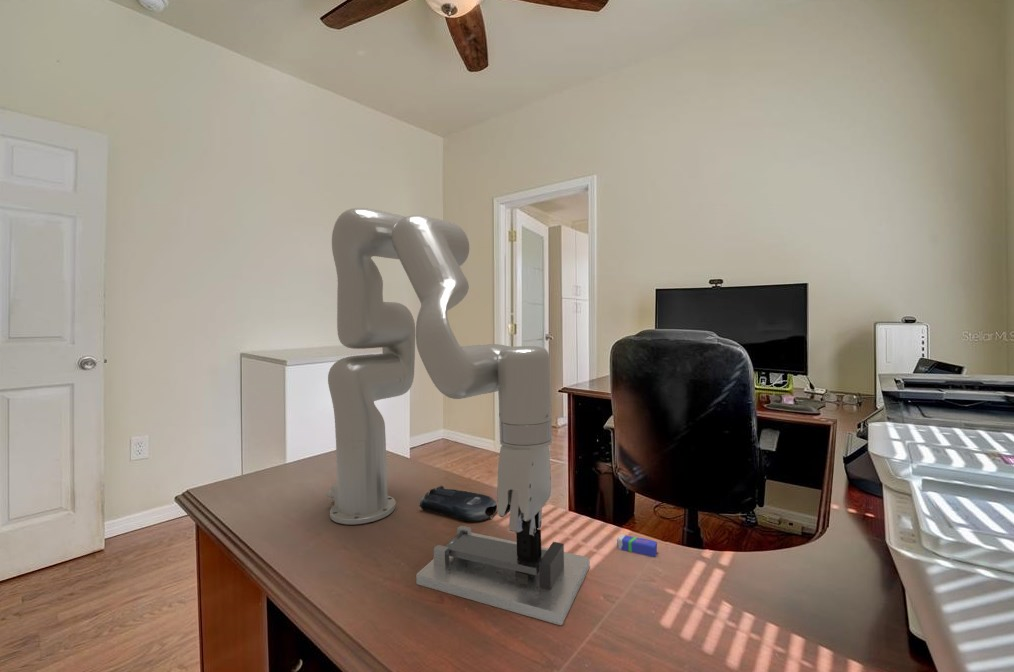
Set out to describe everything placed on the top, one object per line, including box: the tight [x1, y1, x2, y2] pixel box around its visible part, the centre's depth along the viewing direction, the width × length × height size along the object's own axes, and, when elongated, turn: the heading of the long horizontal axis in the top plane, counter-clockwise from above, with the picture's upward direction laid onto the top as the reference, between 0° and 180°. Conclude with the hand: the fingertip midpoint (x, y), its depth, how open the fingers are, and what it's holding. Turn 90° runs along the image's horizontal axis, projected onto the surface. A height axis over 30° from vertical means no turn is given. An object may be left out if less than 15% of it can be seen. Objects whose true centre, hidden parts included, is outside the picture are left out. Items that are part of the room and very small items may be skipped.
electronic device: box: [418, 485, 498, 523], centre depth 88 cm, size 9×6×15 cm
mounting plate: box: [415, 525, 591, 626], centre depth 65 cm, size 22×14×5 cm, turn 65°
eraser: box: [616, 534, 658, 558], centre depth 71 cm, size 2×6×2 cm, turn 61°
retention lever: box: [443, 533, 547, 575], centre depth 66 cm, size 16×5×1 cm, turn 65°
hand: (529, 557), depth 63 cm, fingers closed
